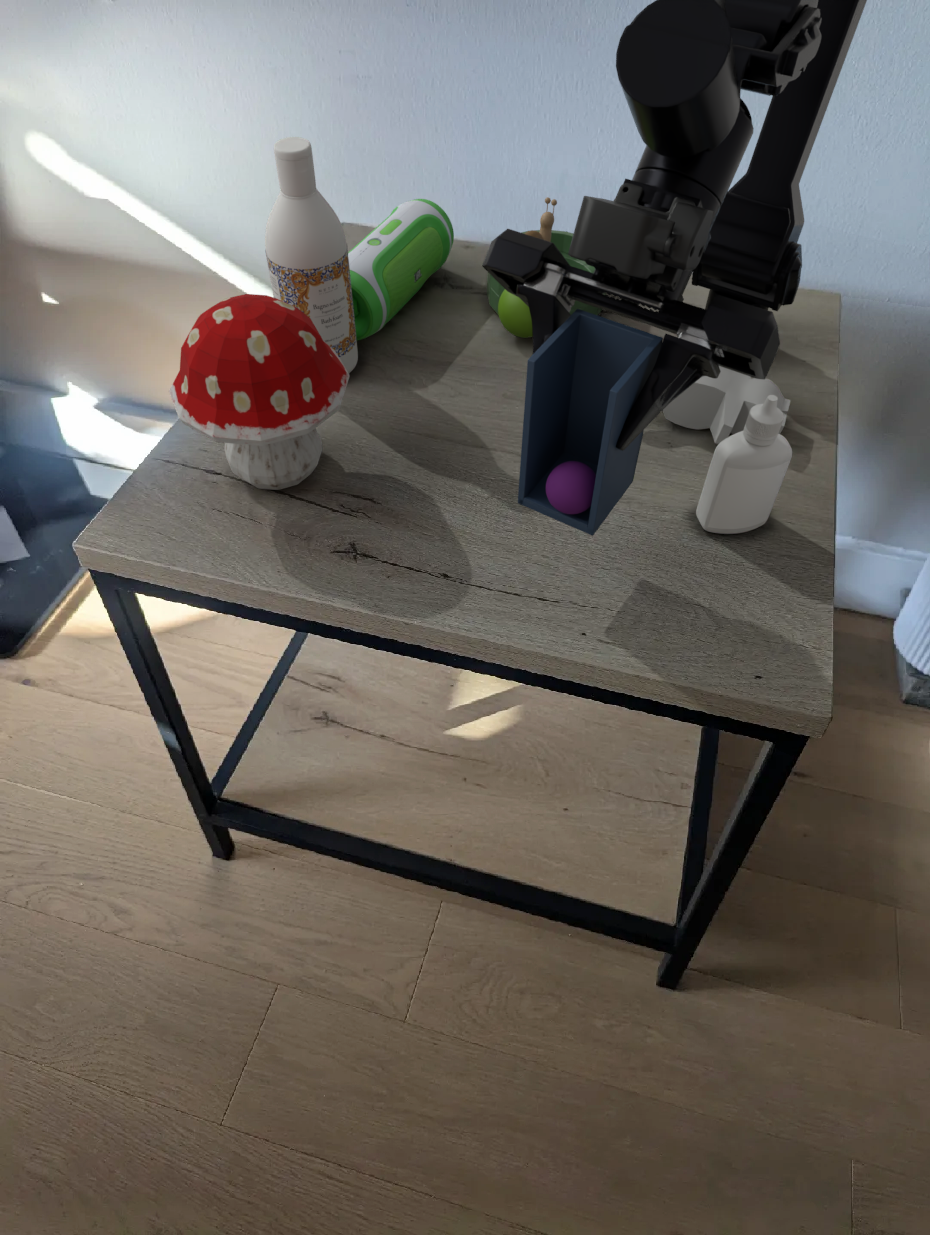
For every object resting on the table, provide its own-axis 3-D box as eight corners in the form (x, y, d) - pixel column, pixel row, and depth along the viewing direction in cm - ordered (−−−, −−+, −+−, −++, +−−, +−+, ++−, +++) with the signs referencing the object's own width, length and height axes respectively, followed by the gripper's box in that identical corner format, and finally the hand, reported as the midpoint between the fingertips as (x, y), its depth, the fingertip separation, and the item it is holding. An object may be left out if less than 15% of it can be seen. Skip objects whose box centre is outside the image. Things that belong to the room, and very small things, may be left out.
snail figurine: (565, 323, 87) (579, 205, 78) (534, 355, 84) (544, 235, 75) (519, 307, 89) (526, 189, 80) (486, 337, 86) (490, 218, 76)
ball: (565, 443, 59) (550, 466, 57) (612, 466, 59) (600, 491, 56) (546, 484, 62) (531, 508, 59) (591, 507, 61) (578, 532, 59)
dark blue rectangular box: (560, 452, 65) (577, 308, 56) (633, 481, 63) (663, 337, 54) (517, 503, 62) (527, 359, 52) (592, 536, 60) (617, 392, 50)
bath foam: (306, 394, 80) (270, 172, 65) (273, 357, 84) (232, 138, 68) (371, 370, 83) (352, 150, 67) (337, 334, 86) (311, 118, 71)
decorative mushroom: (247, 399, 80) (211, 242, 68) (385, 436, 76) (373, 277, 65) (161, 496, 71) (104, 337, 60) (312, 542, 68) (283, 382, 57)
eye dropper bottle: (762, 546, 68) (810, 425, 59) (691, 529, 69) (728, 407, 60) (768, 510, 71) (815, 388, 62) (700, 494, 72) (736, 372, 63)
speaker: (379, 355, 84) (373, 283, 78) (315, 336, 86) (305, 265, 80) (458, 270, 94) (458, 200, 88) (399, 254, 96) (395, 185, 90)
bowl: (519, 259, 96) (521, 219, 92) (622, 288, 92) (628, 248, 88) (466, 313, 89) (466, 272, 85) (575, 347, 85) (580, 305, 82)
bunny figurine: (787, 431, 71) (614, 372, 73) (762, 476, 75) (599, 419, 77) (802, 367, 77) (641, 314, 78) (779, 412, 81) (626, 361, 83)
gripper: (503, 88, 49) (401, 353, 52) (827, 171, 43) (692, 466, 46) (557, 177, 59) (470, 394, 62) (824, 253, 53) (714, 490, 56)
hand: (574, 431), depth 56 cm, fingers closed on dark blue rectangular box, 6 cm apart
